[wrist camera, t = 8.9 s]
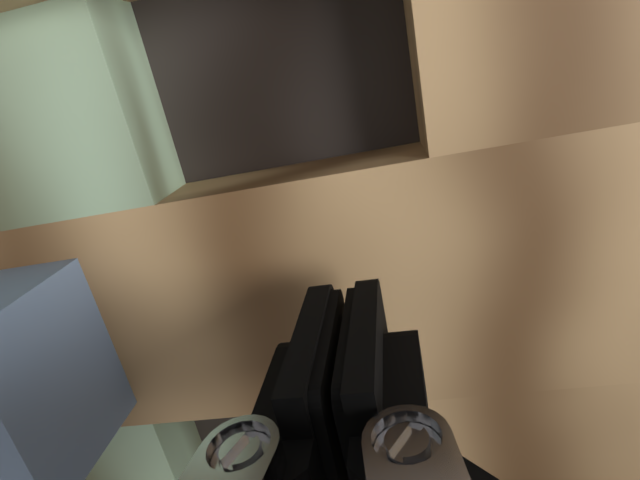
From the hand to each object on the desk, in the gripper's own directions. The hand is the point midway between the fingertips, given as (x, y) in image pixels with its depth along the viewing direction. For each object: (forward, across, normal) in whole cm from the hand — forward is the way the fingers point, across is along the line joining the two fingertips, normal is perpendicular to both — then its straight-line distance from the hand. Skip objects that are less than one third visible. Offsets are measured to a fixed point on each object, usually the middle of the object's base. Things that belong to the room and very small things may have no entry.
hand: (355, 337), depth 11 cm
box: (+4, +2, 0) cm, 5 cm away
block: (+1, +10, 0) cm, 10 cm away
